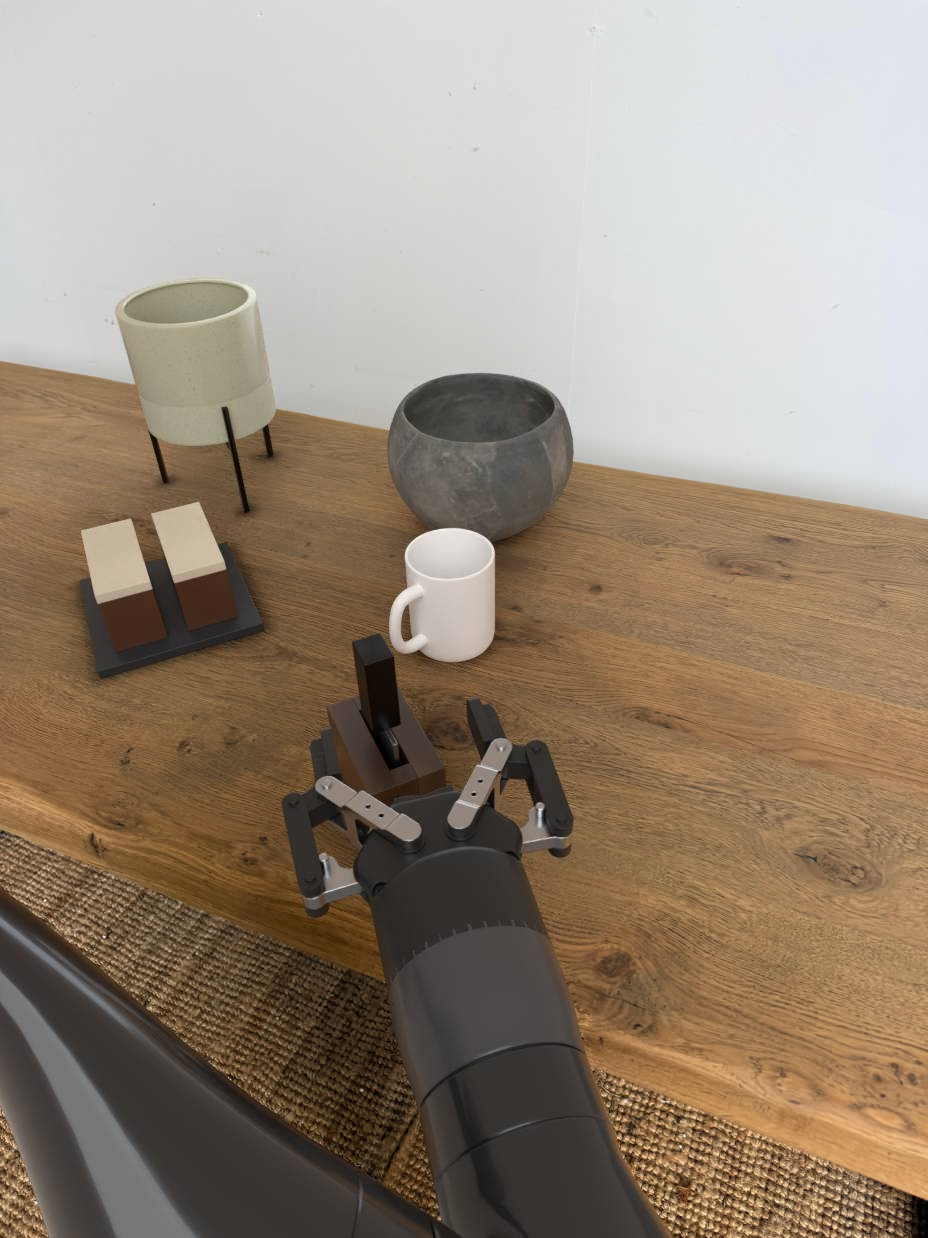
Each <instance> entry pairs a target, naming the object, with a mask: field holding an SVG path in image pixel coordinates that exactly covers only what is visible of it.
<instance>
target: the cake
mask: <svg viewBox="0 0 928 1238" xmlns="http://www.w3.org/2000/svg"><path fill="white" fill-rule="evenodd" d="M150 515H151V519H152V523H153V525H154V528H155V532H156V534H157V539H158V541H159V545H160V548H161V552H162V555H163V558H160V559H156V560H151V561H148V562H146V560H145V557H144V554H143V551H142V547H141V545H140V541H139V539H138V536H137V532H136V528H135V526H134V522H133V520H132V518H126V519H122V520H118V521H115V522H111V523H106V524H102V525H98V526H93V527H90V528H86V529H82V530H80V535H81V538H82V539H81V540H82V544H83V546H84V547H83V548H84V553H85V556H86V562H87V566H88V571H89V577H86V578H84V579H83V578H82V579H79V587H80V591H81V595H82V601H83V606H84V611H85V617H86V621H87V626H88V632H89V637H90V643H91V648H92V652H93V657H94V663H95V667H96V672H97V674H98V677H99V679H101V680H102V679H105V678H109V677H111V676H115V675H119V674H123V673H125V672H129V671H131V670H135V669H138V668H141V667H145V666H149V665H152V664H155V663H158V662H162V661H166V660H168V659H171V658H175V657H179V656H182V655H186V654H190V653H192V652H196V651H200V650H203V649H206V648H209V647H213V646H217V645H219V644H222V643H226V642H230V641H233V640H236V639H240V638H244V637H246V636H250V635H253V634H256V633H260V632H264V631H265V628H264V622H263V620H262V618H261V616H260V613H259V611H258V609H257V607H256V605H255V602H254V600H253V598H252V595H251V593H250V591H249V589H248V587H247V584H246V582H245V580H244V578H243V575H242V573H241V571H240V569H239V566H238V564H237V562H236V560H235V557H234V555H233V553H232V550H231V548H230V546H229V543H228V542H227V541H224V542H221V543H217V541H216V539H215V536H214V533H213V532H212V529H211V527H210V524H209V522H208V519H207V517H206V514H205V513H204V510H203V507H202V505H201V503H200V501H197V502H192V503H188V504H185V505H184V504H183V505H180V506H176V507H172V508H167V509H164V510H159V511H155V512H151V513H150Z"/></svg>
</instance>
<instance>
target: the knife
mask: <svg viewBox="0 0 928 1238" xmlns="http://www.w3.org/2000/svg"><path fill="white" fill-rule="evenodd" d="M351 646H352V654H353V661H354V667H355V668H354V669H355V675H356V681H357V682H356V683H357V688H358V689H357V690H358V696H359V697H360V704H361V710H362V712H363V714H364V716H365V718H366V720H367V722H368V724H369V726H370V731H371V736H372V738H373V739H374V741H375V743H376V745H377V747H378V749H379V751H380V753H381V755H382V757H383V759H384V761H385V763H386V765H387V767H388V769H389V771H390V770H392V769H395V768H398V767H400V758H399V749H398V743H397V741H396V739H395V737H394V735H393V734H392V732H391V730H390V728H393V727H396V726H399V725H401V719H400V709H399V699H398V690H397V686H398V680H397V671H396V662H395V661H396V660H395V655H394V654H393V652H392V650H391V649H390V647H389V645H388V643H387V642H386V640H385V638H384V636H383V635H382V634H381V632H378V633H375V634H371V635H368V636H366V637H365V636H364V637H362V638H359V639H355V640H352V641H351Z"/></svg>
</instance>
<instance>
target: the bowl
mask: <svg viewBox="0 0 928 1238" xmlns="http://www.w3.org/2000/svg"><path fill="white" fill-rule="evenodd" d="M574 450H575V449H574V438H573V432H572V428H571V424H570V420H569V417H568V416H567V413H566V410H565V407H564V406H563V404H562V402H561V401H560V399H559V398H558V397H557V396H556V395H555V393H553V392H552V391H551V390H550V389H548V388H547V387H545V386H544V385H542V384H540V383H538V382H536V381H533V380H529V379H527V378H523V377H519V376H515V375H509V374H503V373H491V372H469V373H468V372H467V373H466V372H465V373H456V374H448V375H443V376H440V377H436V378H433V379H431V380H428V381H426V382H423V383H422V384H420V385H418V386H416V387H414V388H413V389H412V390H411V391H409V392H408V393H407V394H406V395H405V396H404V397H403V398H402V400H401V401H400V402H399V404H398V406H397V408H396V410H395V411H394V414H393V417H392V420H391V423H390V426H389V431H388V435H387V442H386V451H387V453H386V455H387V464H388V469H389V473H390V476H391V481H392V484H393V485H394V487H395V489H396V491H397V493H398V495H399V497H400V498H401V500H402V502H403V503H404V504H405V505H406V506H407V508H408V509H409V510H410V511H411V513H412V514H413V515H414V516H415V517H416V519H418V521H420V522H421V523H422V524H423V525H424V526H425V527H427V528H428V529H429V530H430V531H433V530H438V529H445V528H459V529H466V530H470V531H473V532H476V533H478V534H481V535H482V536H484V537H485V538H487V539H488V540H489V541H490V542H491V543H494V542H497V541H502V540H504V539H507V538H510V537H513V536H515V535H517V534H520V533H521V532H523V531H525V530H527V529H529V528H530V527H532V526H533V525H535V524H537V523H538V522H539V521H540V520H541V519H543V518H544V517H545V516H546V514H548V512H549V511H550V510H551V509H552V508H553V507H554V505H555V504H556V503H557V501H558V500H559V498H560V497H561V496H562V494H563V492H564V491H565V488H566V486H567V484H568V482H569V479H570V476H571V473H572V469H573V463H574V454H575V451H574Z"/></svg>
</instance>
